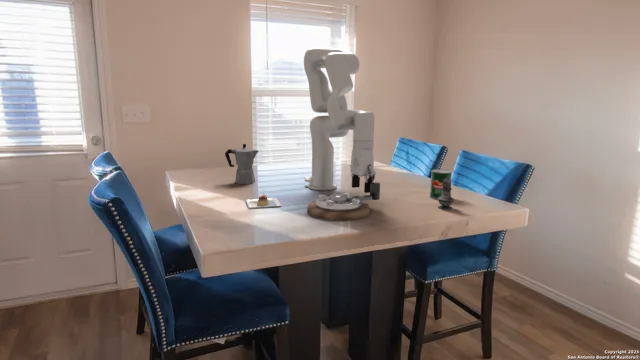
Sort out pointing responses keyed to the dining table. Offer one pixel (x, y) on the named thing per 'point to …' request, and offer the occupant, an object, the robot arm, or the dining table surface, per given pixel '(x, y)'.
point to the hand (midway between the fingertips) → (361, 189)
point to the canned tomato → (438, 182)
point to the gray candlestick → (446, 195)
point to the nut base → (338, 213)
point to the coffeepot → (243, 164)
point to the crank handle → (347, 200)
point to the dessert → (263, 202)
